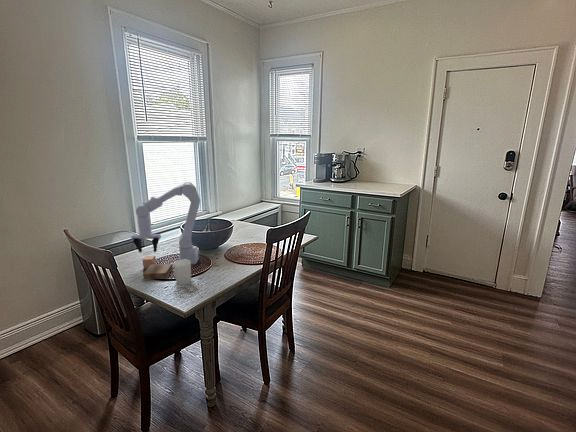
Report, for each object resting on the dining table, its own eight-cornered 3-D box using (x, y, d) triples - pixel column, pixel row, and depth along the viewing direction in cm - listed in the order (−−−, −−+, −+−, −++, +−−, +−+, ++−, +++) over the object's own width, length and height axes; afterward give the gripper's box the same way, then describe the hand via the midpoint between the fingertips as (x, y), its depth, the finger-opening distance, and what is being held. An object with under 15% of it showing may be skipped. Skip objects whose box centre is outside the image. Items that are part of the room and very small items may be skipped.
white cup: (182, 287, 147) (180, 267, 145) (171, 283, 151) (169, 263, 149) (195, 280, 154) (194, 261, 151) (184, 276, 158) (182, 258, 155)
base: (172, 269, 167) (172, 263, 166) (166, 278, 156) (165, 272, 155) (151, 270, 166) (150, 264, 165) (143, 279, 155) (142, 273, 155)
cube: (156, 264, 174) (155, 255, 172) (153, 267, 169) (152, 259, 168) (146, 264, 173) (145, 256, 172) (143, 268, 169) (142, 259, 167)
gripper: (161, 224, 170) (164, 248, 173) (133, 225, 169) (136, 249, 172) (157, 228, 163) (160, 253, 167) (128, 229, 162) (131, 254, 165)
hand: (148, 251), depth 169 cm, fingers open, 7 cm apart
